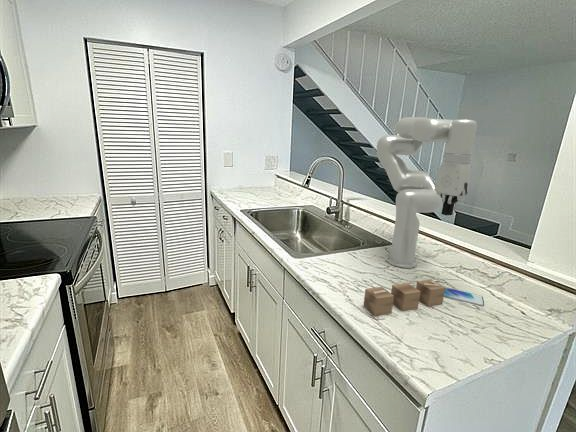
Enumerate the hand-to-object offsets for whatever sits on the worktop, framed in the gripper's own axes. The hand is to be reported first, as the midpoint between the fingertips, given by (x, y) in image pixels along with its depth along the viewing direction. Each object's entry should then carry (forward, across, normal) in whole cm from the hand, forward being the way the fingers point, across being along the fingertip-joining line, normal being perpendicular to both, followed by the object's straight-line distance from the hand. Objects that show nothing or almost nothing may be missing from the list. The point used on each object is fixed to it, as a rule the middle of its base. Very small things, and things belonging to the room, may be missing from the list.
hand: (446, 214), depth 107 cm
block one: (+27, +7, -29) cm, 40 cm away
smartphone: (+28, +7, +4) cm, 29 cm away
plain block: (+27, +7, -19) cm, 34 cm away
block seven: (+27, +7, -9) cm, 29 cm away
